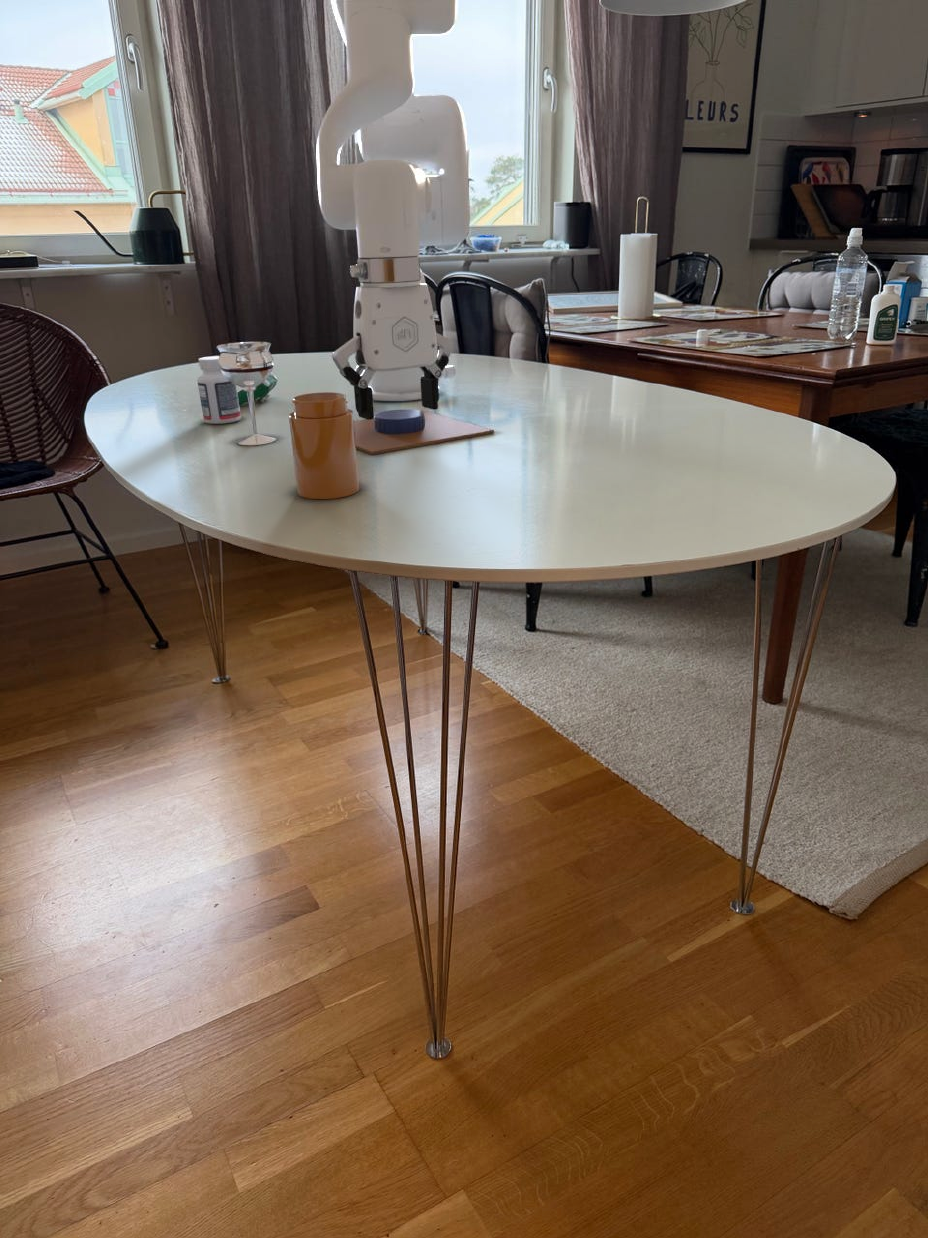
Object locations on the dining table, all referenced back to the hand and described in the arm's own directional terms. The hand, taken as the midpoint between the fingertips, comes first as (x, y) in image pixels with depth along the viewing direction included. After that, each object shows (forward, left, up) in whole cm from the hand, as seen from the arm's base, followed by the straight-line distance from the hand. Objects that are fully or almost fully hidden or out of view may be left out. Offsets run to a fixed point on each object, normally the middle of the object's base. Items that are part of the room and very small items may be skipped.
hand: (398, 412), depth 113 cm
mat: (0, 0, -2) cm, 2 cm away
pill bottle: (+16, -24, -3) cm, 29 cm away
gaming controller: (+6, -36, -3) cm, 37 cm away
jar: (+20, +20, -2) cm, 28 cm away
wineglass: (+17, -8, -3) cm, 19 cm away
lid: (0, 0, -1) cm, 1 cm away
